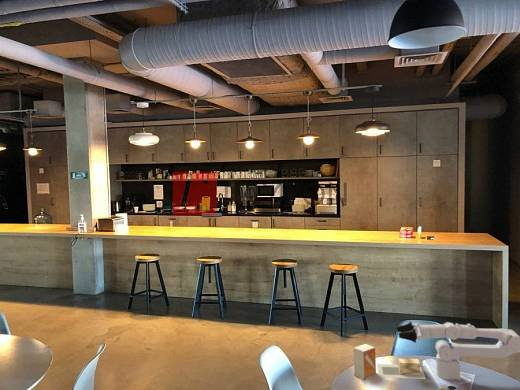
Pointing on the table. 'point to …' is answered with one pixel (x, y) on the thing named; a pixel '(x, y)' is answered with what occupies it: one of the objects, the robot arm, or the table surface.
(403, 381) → the table surface
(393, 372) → the board
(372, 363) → the small box
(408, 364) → the block
